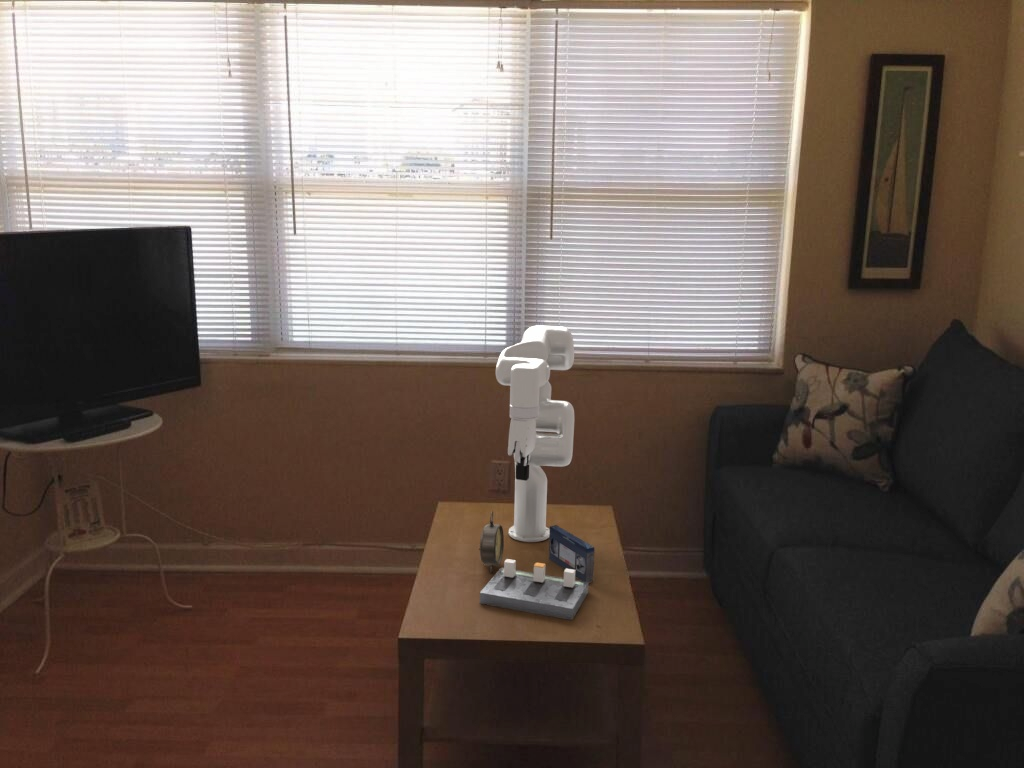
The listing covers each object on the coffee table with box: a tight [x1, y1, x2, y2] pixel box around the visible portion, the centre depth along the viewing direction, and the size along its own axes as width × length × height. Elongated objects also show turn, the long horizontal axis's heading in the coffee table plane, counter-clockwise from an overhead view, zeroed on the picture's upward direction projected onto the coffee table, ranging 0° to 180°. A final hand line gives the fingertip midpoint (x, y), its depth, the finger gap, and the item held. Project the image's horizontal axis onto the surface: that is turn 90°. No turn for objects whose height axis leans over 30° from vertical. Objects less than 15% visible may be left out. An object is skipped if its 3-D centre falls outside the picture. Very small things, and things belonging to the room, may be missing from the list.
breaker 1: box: [503, 558, 517, 578], centre depth 237 cm, size 2×2×4 cm
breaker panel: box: [479, 567, 589, 621], centre depth 232 cm, size 16×24×3 cm, turn 71°
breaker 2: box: [563, 568, 576, 588], centre depth 232 cm, size 2×2×4 cm
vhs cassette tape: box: [548, 524, 595, 583], centre depth 248 cm, size 18×3×10 cm, turn 29°
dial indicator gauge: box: [478, 510, 505, 574], centre depth 248 cm, size 11×5×16 cm, turn 168°
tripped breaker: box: [533, 562, 546, 582], centre depth 234 cm, size 2×2×4 cm
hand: (522, 478), depth 240 cm, fingers closed
